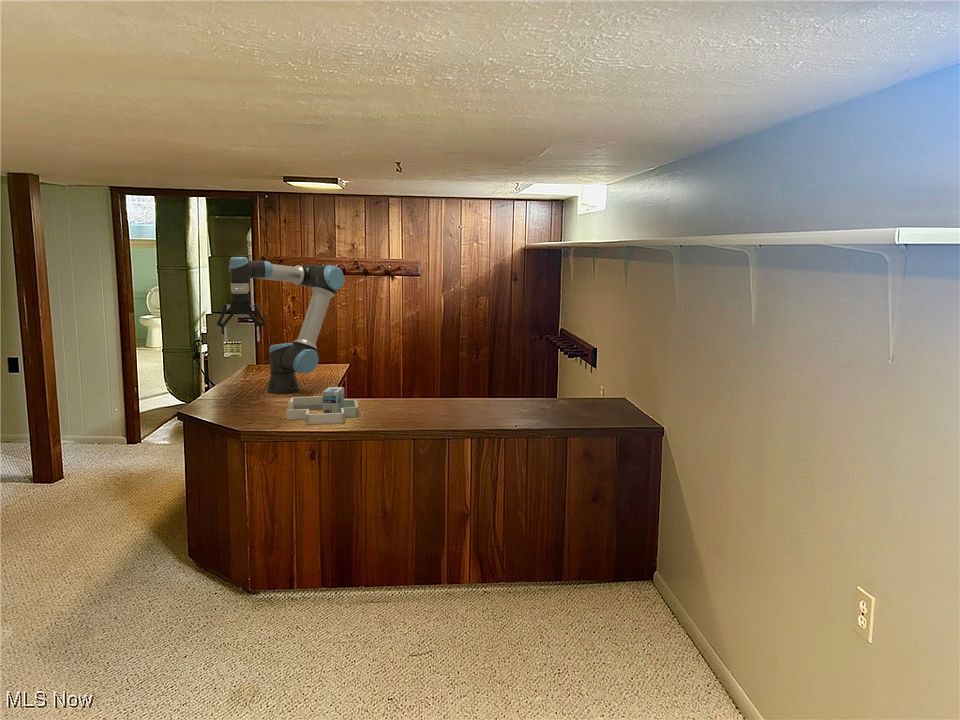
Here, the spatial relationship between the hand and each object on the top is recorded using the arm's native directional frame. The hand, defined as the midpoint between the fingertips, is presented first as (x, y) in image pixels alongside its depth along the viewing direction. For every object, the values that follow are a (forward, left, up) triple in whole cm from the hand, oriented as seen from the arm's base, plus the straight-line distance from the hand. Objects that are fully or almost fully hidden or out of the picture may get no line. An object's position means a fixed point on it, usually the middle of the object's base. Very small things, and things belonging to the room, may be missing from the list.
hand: (242, 341), depth 316 cm
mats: (+22, +31, -29) cm, 48 cm away
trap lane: (+22, +33, -29) cm, 49 cm away
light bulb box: (+23, +38, -29) cm, 53 cm away
